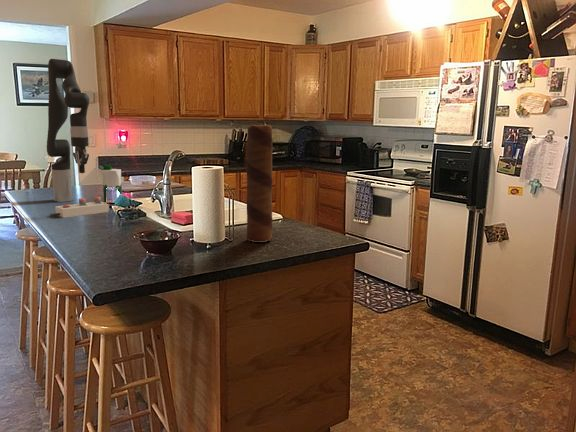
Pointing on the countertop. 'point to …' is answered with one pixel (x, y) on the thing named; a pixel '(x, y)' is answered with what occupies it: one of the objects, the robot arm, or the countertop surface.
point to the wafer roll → (259, 182)
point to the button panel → (81, 209)
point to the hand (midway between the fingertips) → (82, 172)
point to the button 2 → (82, 201)
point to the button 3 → (97, 199)
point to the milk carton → (111, 179)
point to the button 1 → (66, 206)
